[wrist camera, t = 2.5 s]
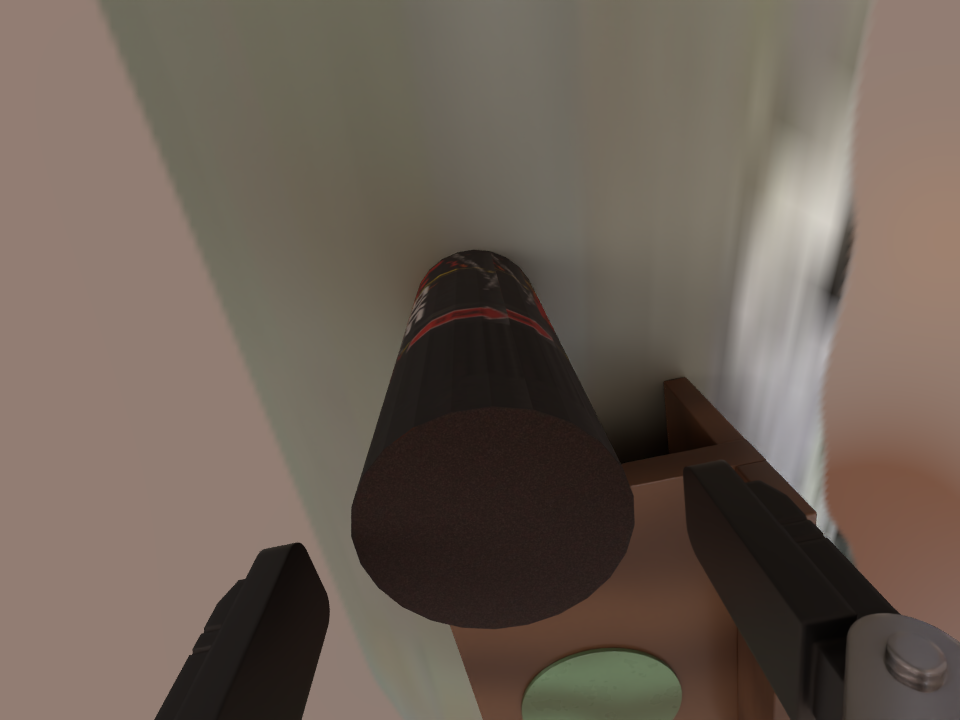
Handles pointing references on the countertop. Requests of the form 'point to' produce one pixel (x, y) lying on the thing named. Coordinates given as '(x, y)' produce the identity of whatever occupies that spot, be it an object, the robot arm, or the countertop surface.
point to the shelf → (640, 610)
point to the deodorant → (488, 461)
